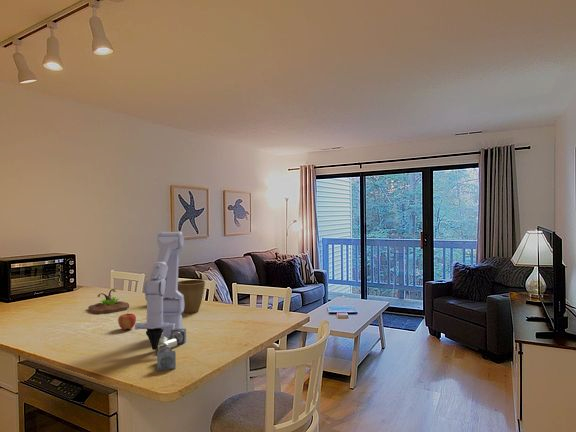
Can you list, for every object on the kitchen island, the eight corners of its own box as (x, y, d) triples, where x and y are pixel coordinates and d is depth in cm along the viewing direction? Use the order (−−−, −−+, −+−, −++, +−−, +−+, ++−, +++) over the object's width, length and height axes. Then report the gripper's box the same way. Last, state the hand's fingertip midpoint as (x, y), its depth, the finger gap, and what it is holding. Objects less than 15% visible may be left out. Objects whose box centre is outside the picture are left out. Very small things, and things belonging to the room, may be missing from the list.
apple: (116, 332, 163) (116, 314, 163) (119, 327, 170) (119, 310, 170) (134, 331, 165) (134, 312, 165) (136, 326, 172) (136, 309, 172)
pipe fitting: (176, 346, 147) (158, 346, 145) (177, 336, 147) (159, 336, 145) (176, 353, 139) (157, 353, 137) (177, 342, 139) (158, 342, 137)
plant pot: (203, 307, 209) (203, 278, 209) (206, 313, 195) (206, 283, 195) (175, 309, 204) (175, 280, 205) (176, 316, 190) (176, 284, 190)
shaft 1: (156, 362, 128) (156, 347, 128) (173, 360, 130) (173, 345, 131) (157, 371, 121) (157, 355, 121) (175, 368, 123) (175, 352, 123)
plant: (133, 310, 204) (133, 289, 204) (94, 316, 192) (94, 294, 192) (123, 304, 220) (123, 284, 220) (86, 309, 207) (86, 288, 207)
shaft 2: (172, 341, 150) (172, 328, 150) (186, 341, 150) (186, 328, 150) (168, 344, 146) (168, 331, 146) (182, 345, 146) (182, 331, 146)
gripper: (130, 314, 135) (130, 352, 135) (170, 314, 135) (170, 352, 135) (139, 309, 142) (139, 345, 142) (176, 310, 142) (176, 345, 142)
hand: (154, 348), depth 139 cm, fingers closed
